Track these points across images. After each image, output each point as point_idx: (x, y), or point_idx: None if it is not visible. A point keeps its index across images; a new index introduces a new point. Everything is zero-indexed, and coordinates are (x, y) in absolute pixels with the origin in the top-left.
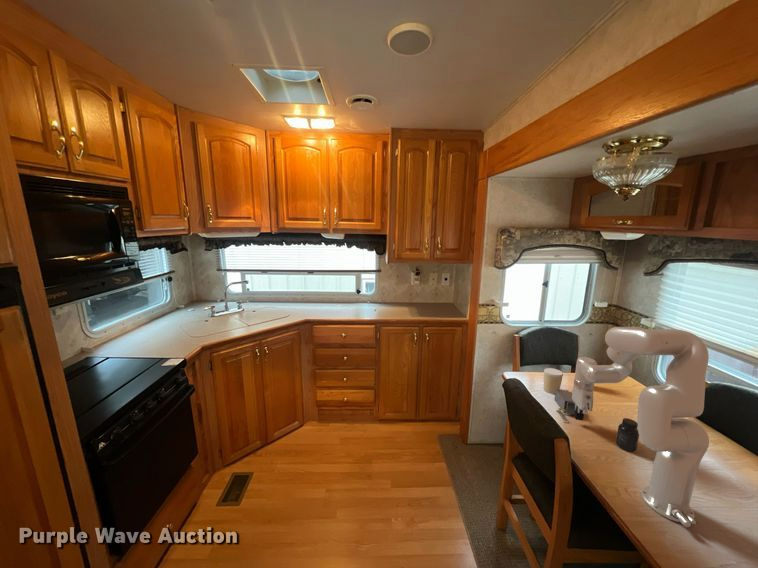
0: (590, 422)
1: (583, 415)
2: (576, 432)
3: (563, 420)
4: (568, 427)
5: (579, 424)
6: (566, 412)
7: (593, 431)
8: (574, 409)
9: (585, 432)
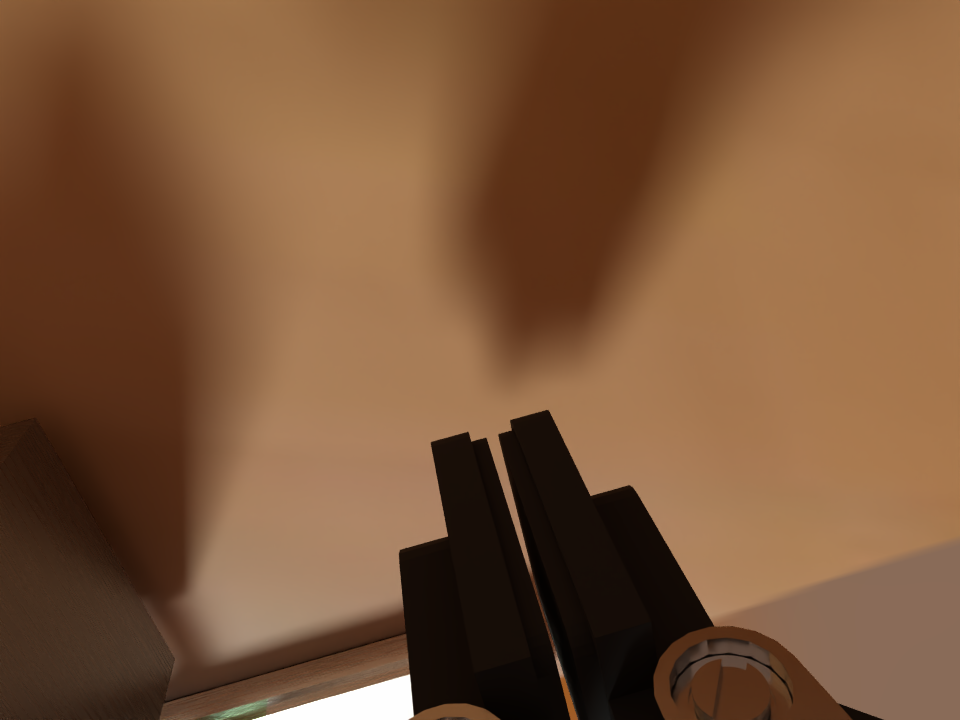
0: (200, 51)
1: (601, 533)
2: (853, 477)
3: None
4: (713, 597)
5: (492, 385)
6: (155, 689)
7: (710, 80)
8: (19, 652)
9: (810, 300)
